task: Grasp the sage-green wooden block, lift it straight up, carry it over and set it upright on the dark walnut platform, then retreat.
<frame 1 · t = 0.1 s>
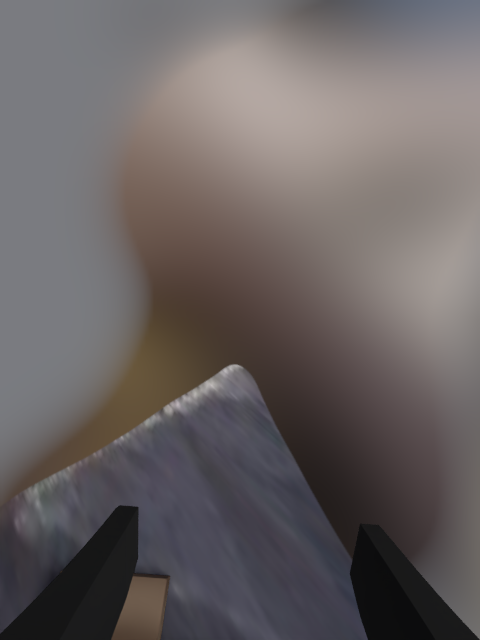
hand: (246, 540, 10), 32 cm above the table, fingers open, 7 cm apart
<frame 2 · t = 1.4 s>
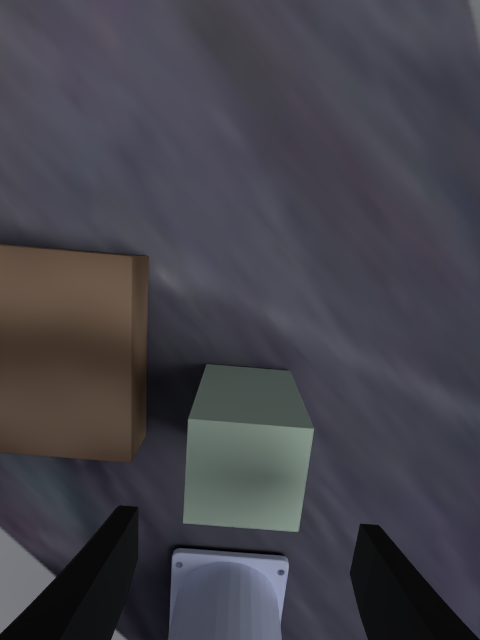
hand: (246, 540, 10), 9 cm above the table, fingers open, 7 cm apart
walnut platform: (53, 344, 17), on the table
green block: (244, 405, 18), on the table
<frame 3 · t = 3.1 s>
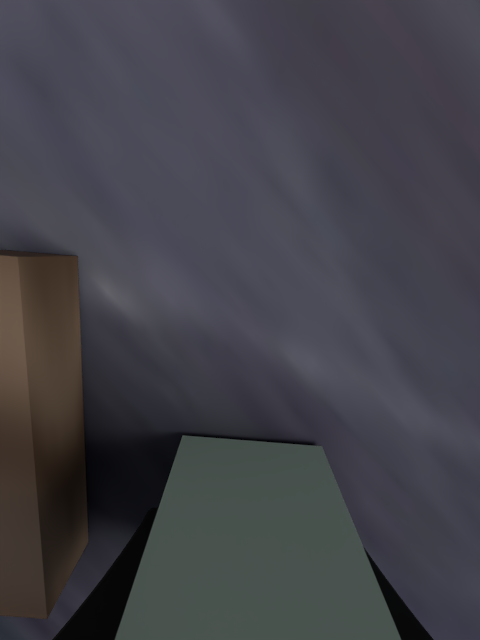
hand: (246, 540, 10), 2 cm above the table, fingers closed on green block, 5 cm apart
green block: (246, 499, 11), on the table, touching gripper
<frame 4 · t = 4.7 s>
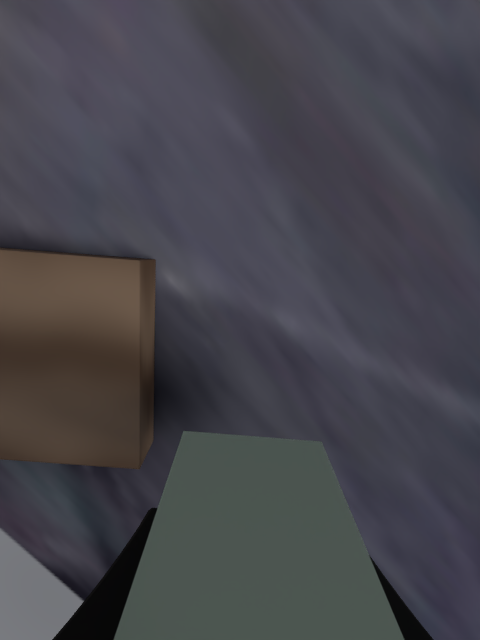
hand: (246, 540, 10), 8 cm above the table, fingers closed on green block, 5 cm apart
walnut platform: (59, 349, 17), on the table
green block: (246, 494, 11), point 7 cm above the table, touching gripper
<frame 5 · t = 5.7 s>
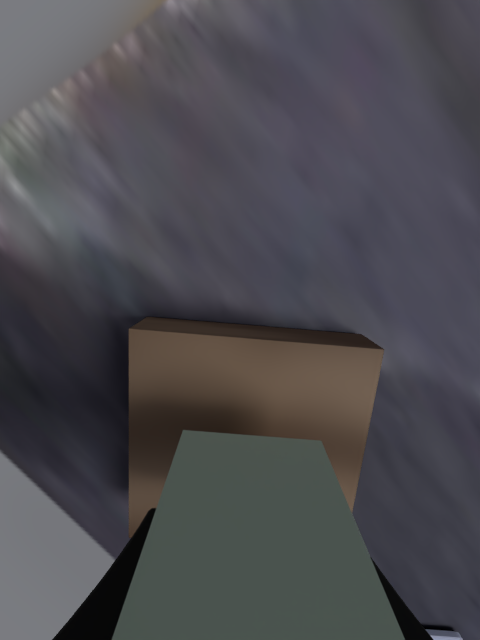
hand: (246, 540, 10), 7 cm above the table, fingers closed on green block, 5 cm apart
walnut platform: (245, 422, 16), on the table
green block: (246, 493, 11), point 5 cm above the table, touching gripper
when the fingers open (5 cm above the table, at t = 6.5 s): green block stays where it is, resting on walnut platform.
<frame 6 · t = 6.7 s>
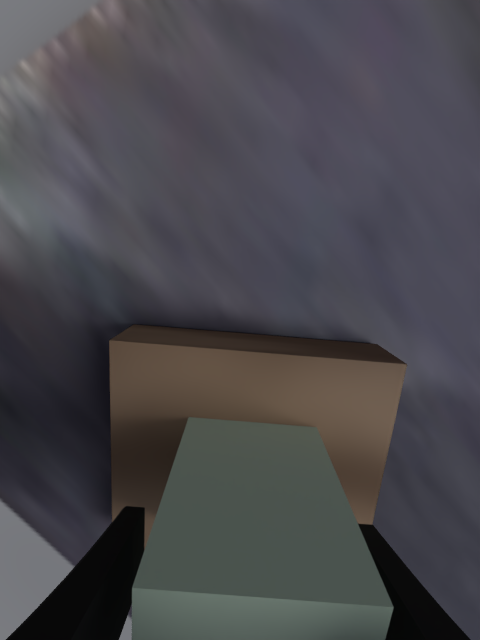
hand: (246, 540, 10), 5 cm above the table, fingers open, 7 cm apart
walnut platform: (245, 442, 14), on the table
green block: (247, 477, 12), point 2 cm above the table, touching walnut platform
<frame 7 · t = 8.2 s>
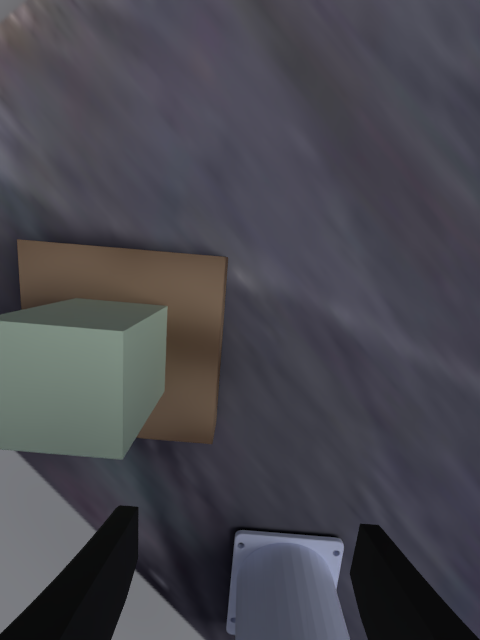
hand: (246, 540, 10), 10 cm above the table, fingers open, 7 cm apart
walnut platform: (136, 337, 19), on the table
green block: (121, 346, 17), point 2 cm above the table, touching walnut platform
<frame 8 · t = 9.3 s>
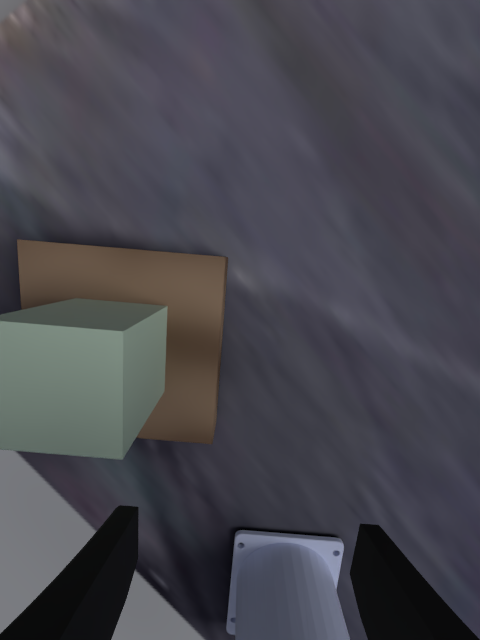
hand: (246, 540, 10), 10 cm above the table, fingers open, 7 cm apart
walnut platform: (136, 337, 19), on the table
green block: (121, 346, 17), point 2 cm above the table, touching walnut platform
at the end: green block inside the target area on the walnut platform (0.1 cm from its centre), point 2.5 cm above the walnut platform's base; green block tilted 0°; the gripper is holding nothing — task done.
